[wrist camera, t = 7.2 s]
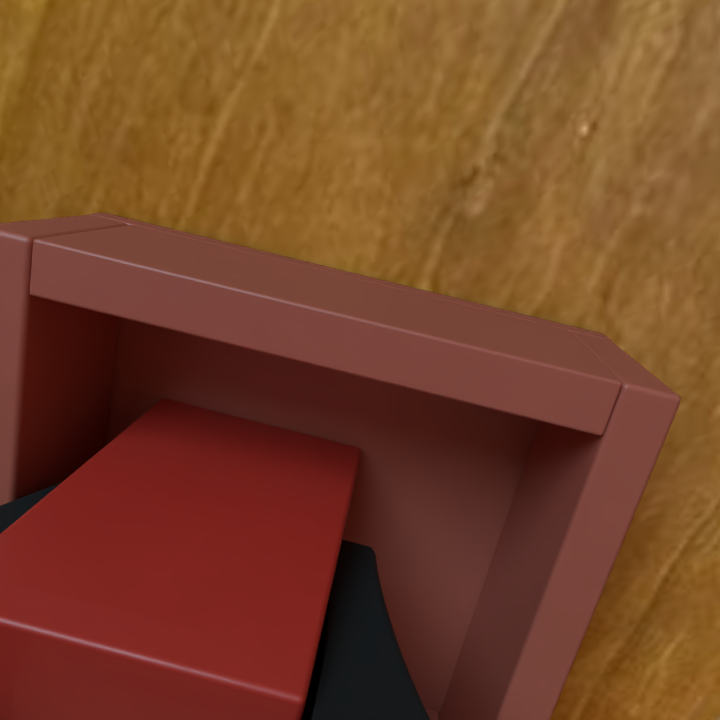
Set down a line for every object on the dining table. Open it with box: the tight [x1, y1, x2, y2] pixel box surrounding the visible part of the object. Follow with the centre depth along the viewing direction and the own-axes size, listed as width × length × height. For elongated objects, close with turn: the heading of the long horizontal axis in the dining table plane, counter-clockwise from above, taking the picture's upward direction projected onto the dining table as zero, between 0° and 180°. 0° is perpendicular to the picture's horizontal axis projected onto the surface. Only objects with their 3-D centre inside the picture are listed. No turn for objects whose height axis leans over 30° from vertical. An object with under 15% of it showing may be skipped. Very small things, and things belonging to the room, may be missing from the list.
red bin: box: [0, 213, 680, 720], centre depth 11 cm, size 10×10×4 cm
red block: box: [0, 399, 362, 720], centre depth 9 cm, size 4×4×6 cm
